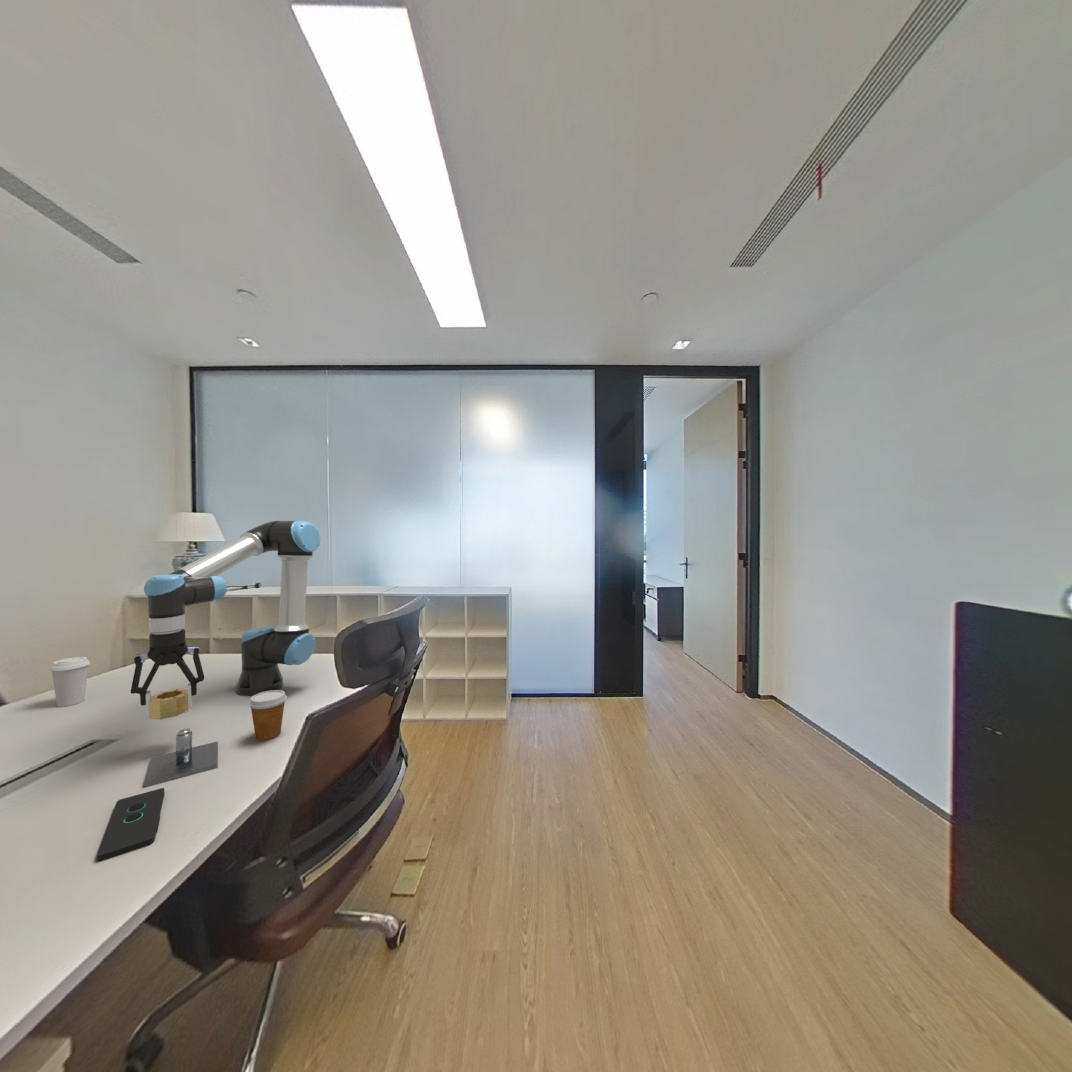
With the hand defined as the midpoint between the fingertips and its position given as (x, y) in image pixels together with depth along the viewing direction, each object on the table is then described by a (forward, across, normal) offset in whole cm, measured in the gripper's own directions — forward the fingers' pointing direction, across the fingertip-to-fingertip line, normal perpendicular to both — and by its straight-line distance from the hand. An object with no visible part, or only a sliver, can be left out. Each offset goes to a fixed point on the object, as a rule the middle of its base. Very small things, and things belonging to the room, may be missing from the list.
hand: (170, 711), depth 117 cm
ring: (0, 0, 0) cm, 0 cm away
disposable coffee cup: (+11, -22, +8) cm, 26 cm away
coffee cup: (+11, +31, -60) cm, 68 cm away
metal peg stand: (+10, -3, +12) cm, 17 cm away
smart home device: (+11, +4, +35) cm, 36 cm away
